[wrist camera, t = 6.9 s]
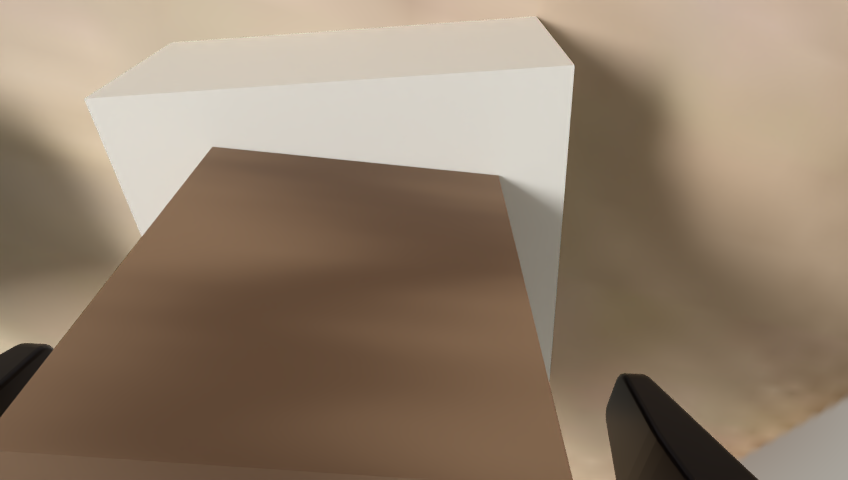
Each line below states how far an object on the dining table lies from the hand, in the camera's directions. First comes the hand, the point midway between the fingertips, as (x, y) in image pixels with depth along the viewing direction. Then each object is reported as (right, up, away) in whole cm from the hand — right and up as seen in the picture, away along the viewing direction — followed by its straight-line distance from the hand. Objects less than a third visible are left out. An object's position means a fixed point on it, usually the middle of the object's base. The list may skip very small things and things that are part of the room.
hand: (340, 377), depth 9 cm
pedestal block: (0, +4, +6) cm, 7 cm away
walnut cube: (0, +2, +2) cm, 3 cm away
